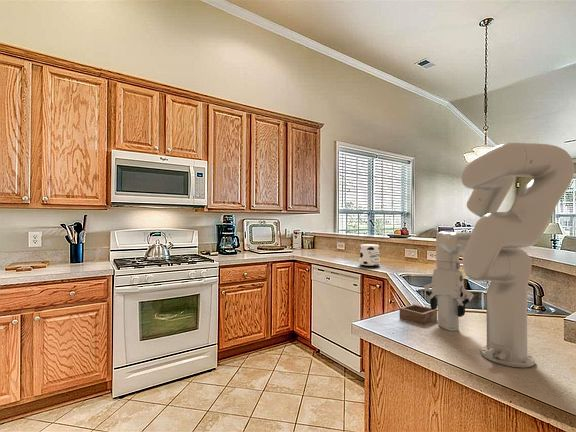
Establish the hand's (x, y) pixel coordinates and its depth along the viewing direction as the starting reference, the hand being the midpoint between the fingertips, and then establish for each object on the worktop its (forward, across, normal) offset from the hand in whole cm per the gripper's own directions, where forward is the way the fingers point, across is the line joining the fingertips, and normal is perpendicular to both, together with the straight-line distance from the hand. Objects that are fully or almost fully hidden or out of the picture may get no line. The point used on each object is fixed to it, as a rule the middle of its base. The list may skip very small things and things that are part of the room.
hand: (447, 312), depth 114 cm
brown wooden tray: (+6, +12, -1) cm, 13 cm away
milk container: (+8, +112, -101) cm, 150 cm away
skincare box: (+6, 0, 0) cm, 6 cm away
